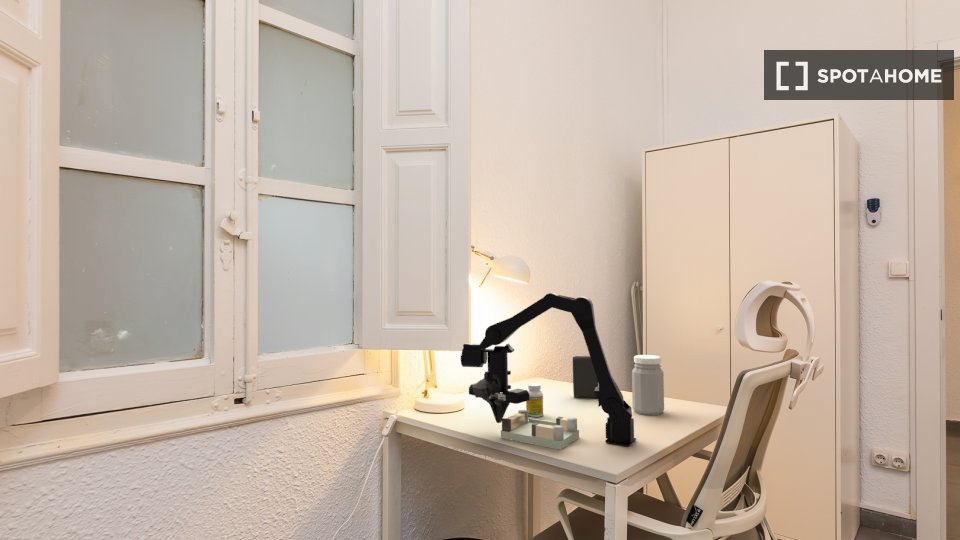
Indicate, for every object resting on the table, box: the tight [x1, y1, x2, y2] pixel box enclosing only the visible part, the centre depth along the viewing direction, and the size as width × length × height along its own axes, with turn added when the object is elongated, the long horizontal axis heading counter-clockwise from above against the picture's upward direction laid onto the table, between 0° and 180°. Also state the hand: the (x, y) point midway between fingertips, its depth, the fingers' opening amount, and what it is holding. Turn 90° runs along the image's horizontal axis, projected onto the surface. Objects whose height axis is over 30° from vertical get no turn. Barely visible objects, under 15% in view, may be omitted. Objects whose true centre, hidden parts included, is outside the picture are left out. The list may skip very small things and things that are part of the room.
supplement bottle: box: [525, 383, 544, 418], centre depth 162 cm, size 5×5×10 cm
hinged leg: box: [501, 409, 529, 432], centre depth 143 cm, size 12×3×3 cm, turn 146°
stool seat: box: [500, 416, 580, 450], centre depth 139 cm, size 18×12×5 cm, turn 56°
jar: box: [631, 354, 665, 416], centre depth 164 cm, size 10×10×18 cm
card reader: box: [572, 355, 599, 399], centre depth 185 cm, size 9×4×15 cm, turn 82°
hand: (498, 422), depth 143 cm, fingers closed
